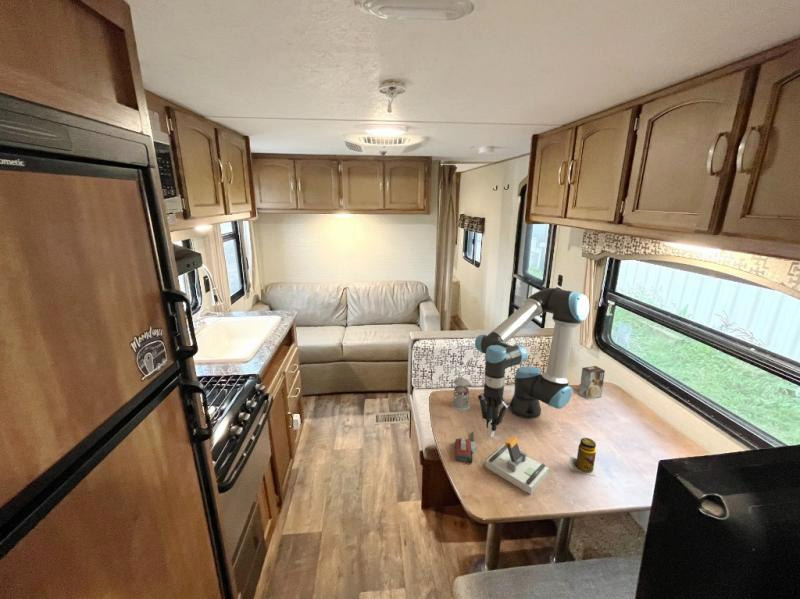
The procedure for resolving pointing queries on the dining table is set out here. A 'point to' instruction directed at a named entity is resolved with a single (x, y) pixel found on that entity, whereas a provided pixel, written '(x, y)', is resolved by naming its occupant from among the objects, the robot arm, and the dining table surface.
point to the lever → (514, 450)
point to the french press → (461, 400)
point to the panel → (517, 469)
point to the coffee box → (591, 382)
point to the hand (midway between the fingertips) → (490, 435)
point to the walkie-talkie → (465, 449)
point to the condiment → (584, 457)
